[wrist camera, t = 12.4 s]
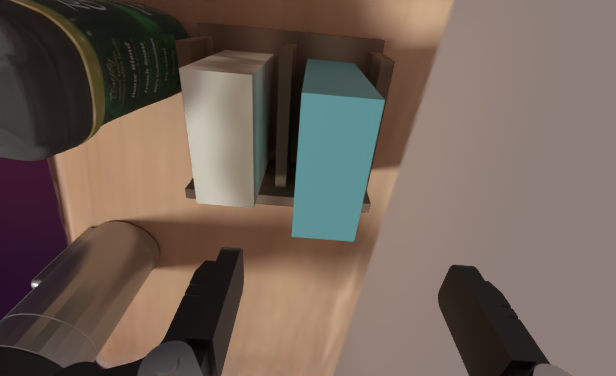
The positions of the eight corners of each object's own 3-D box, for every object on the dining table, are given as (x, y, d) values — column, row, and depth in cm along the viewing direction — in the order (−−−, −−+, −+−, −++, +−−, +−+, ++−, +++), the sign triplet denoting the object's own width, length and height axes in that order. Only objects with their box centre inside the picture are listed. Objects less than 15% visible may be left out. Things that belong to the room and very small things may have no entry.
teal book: (300, 155, 33) (291, 236, 21) (307, 58, 28) (301, 92, 16) (339, 158, 33) (354, 241, 21) (354, 63, 28) (385, 100, 16)
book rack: (213, 159, 34) (170, 221, 24) (201, 22, 27) (132, 27, 17) (357, 171, 35) (375, 237, 24) (382, 40, 28) (422, 55, 17)
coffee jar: (194, 14, 27) (18, 14, 11) (192, 99, 31) (61, 190, 15) (84, -14, 26) (-285, -58, 10) (97, 78, 30) (-152, 150, 14)
